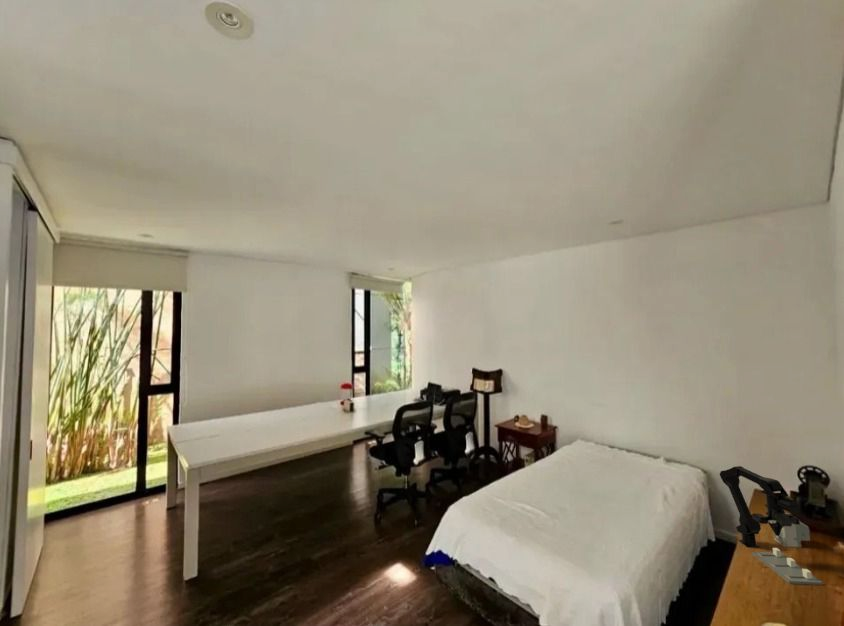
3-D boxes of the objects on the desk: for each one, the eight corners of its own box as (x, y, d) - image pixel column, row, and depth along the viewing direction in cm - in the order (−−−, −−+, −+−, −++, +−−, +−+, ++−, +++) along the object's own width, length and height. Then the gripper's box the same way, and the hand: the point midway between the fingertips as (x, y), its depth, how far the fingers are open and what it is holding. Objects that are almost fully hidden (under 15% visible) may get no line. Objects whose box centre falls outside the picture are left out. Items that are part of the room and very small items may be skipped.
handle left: (773, 554, 197) (772, 547, 198) (777, 554, 197) (776, 547, 197) (776, 556, 195) (776, 550, 195) (781, 556, 195) (780, 550, 195)
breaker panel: (752, 554, 200) (751, 551, 200) (781, 555, 198) (781, 552, 198) (789, 583, 177) (789, 580, 177) (822, 585, 175) (822, 582, 175)
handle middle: (787, 564, 188) (786, 557, 189) (791, 564, 188) (791, 557, 188) (791, 567, 186) (790, 560, 186) (795, 567, 186) (795, 560, 186)
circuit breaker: (814, 548, 203) (811, 519, 204) (784, 546, 206) (781, 518, 207) (803, 540, 210) (800, 513, 211) (774, 539, 213) (771, 512, 214)
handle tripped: (802, 575, 180) (802, 568, 180) (807, 575, 179) (806, 569, 179) (807, 578, 177) (806, 571, 177) (812, 579, 177) (811, 572, 177)
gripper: (766, 511, 188) (769, 543, 187) (807, 512, 186) (811, 544, 185) (749, 502, 199) (753, 532, 198) (789, 502, 197) (792, 533, 196)
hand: (777, 535), depth 194 cm, fingers closed
